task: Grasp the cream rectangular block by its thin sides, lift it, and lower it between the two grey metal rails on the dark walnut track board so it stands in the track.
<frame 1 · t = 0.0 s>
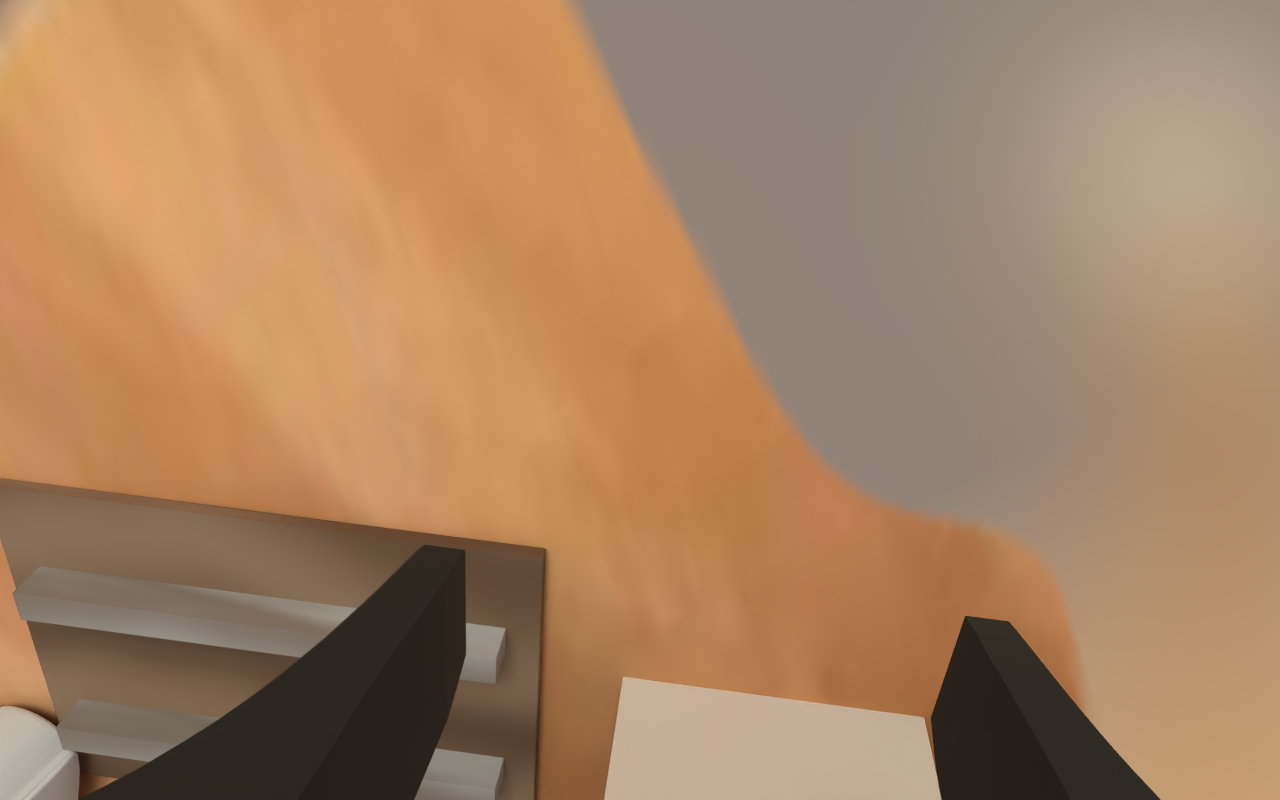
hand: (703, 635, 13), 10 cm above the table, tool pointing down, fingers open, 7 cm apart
track board: (287, 667, 29), on the table
cream rectangular block: (764, 729, 29), on the table
cream rounded upright block: (38, 795, 33), on the table, touching track board
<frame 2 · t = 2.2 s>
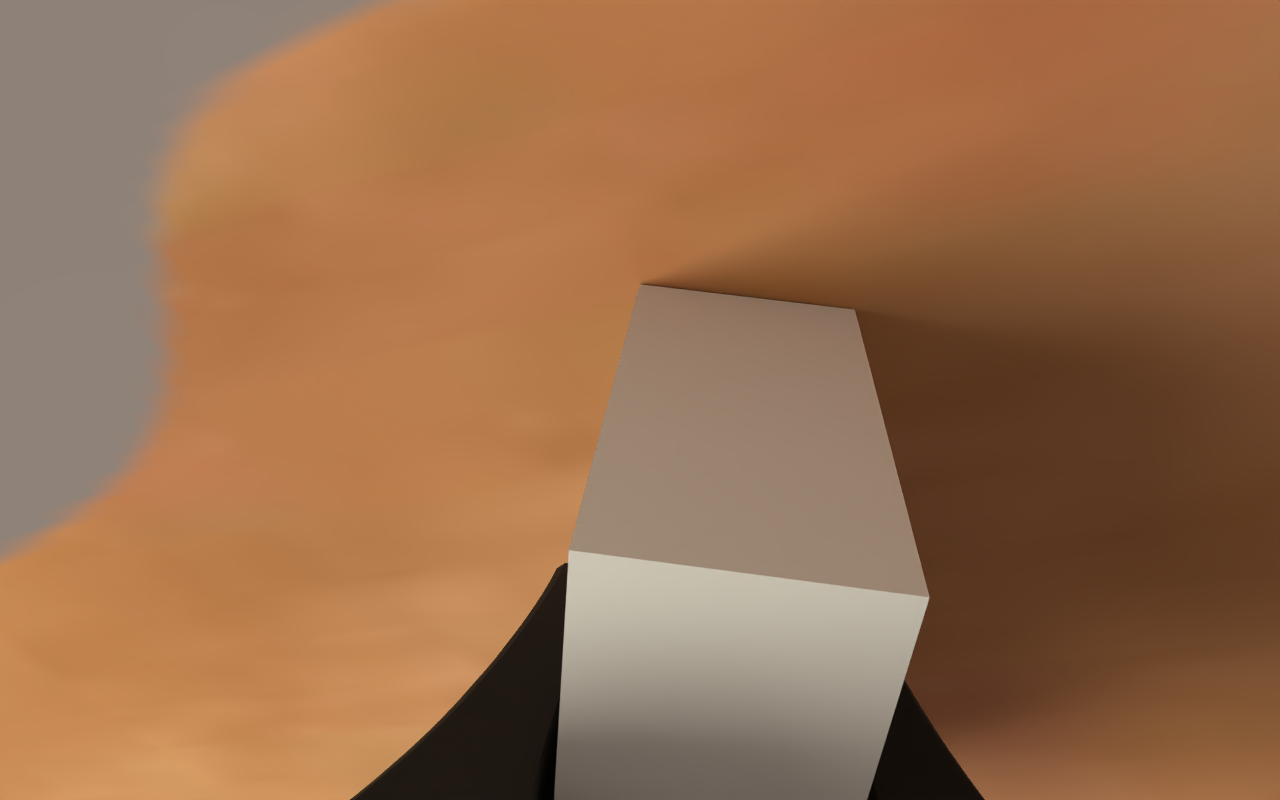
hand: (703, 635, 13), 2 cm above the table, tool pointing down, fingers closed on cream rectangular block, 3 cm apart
cream rectangular block: (707, 552, 15), on the table, touching gripper
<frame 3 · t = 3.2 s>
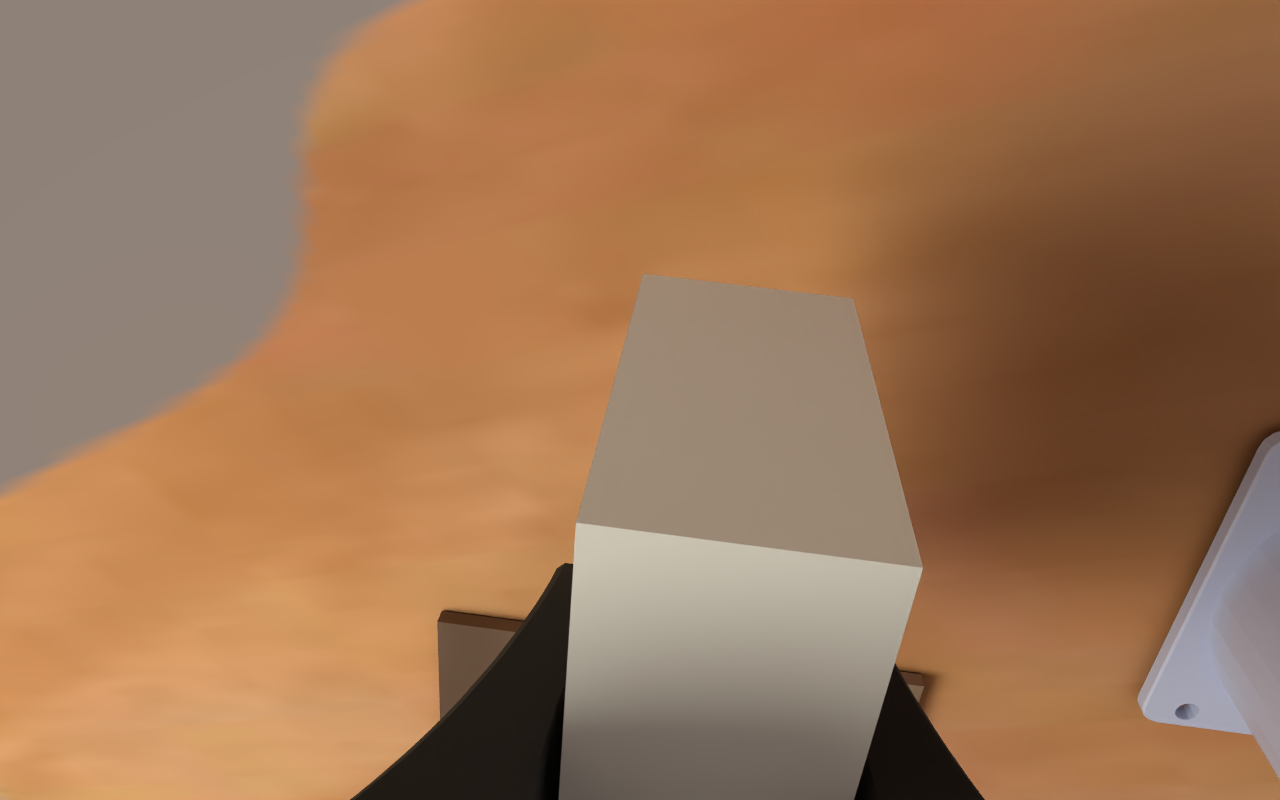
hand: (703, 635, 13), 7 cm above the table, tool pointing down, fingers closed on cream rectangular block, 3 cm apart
cream rectangular block: (709, 537, 15), point 5 cm above the table, touching gripper
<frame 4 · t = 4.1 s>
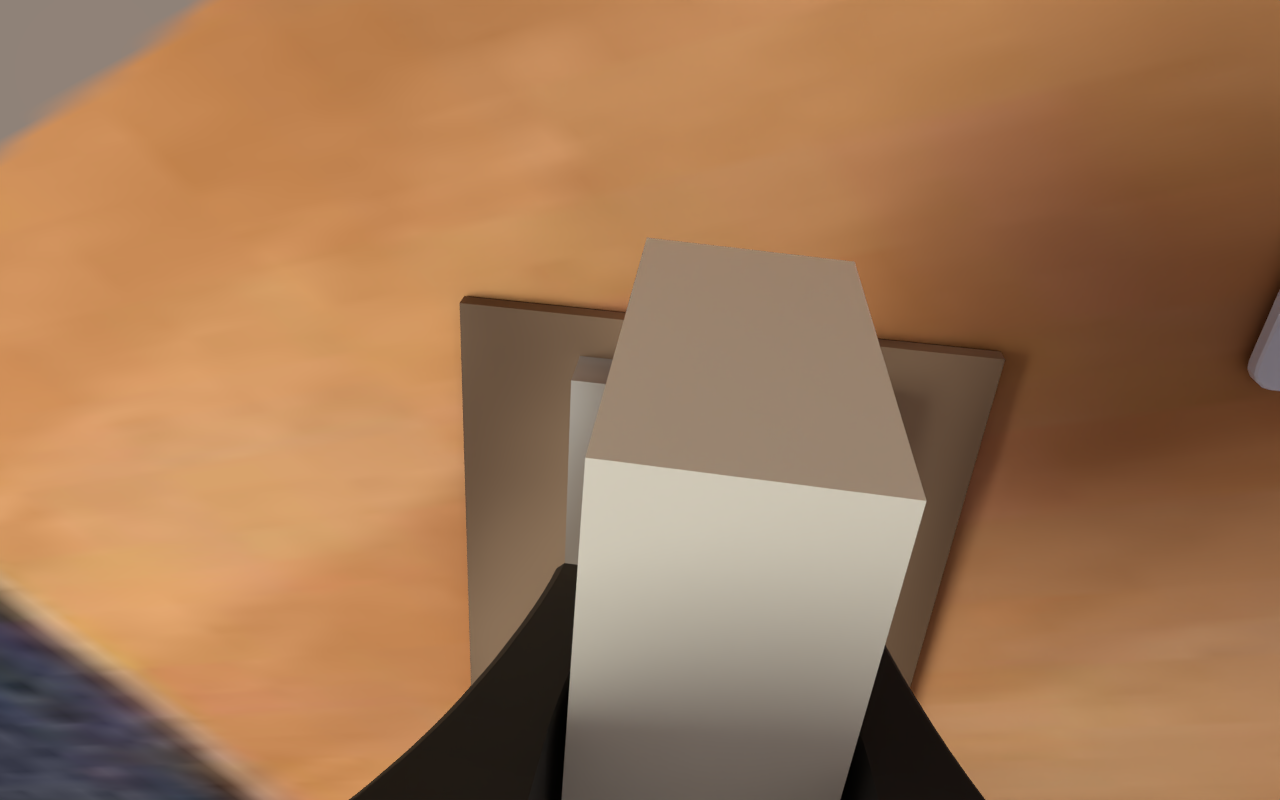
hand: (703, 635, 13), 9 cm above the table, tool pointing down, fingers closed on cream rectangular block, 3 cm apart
track board: (694, 598, 25), on the table
cream rectangular block: (711, 504, 16), point 6 cm above the table, touching gripper
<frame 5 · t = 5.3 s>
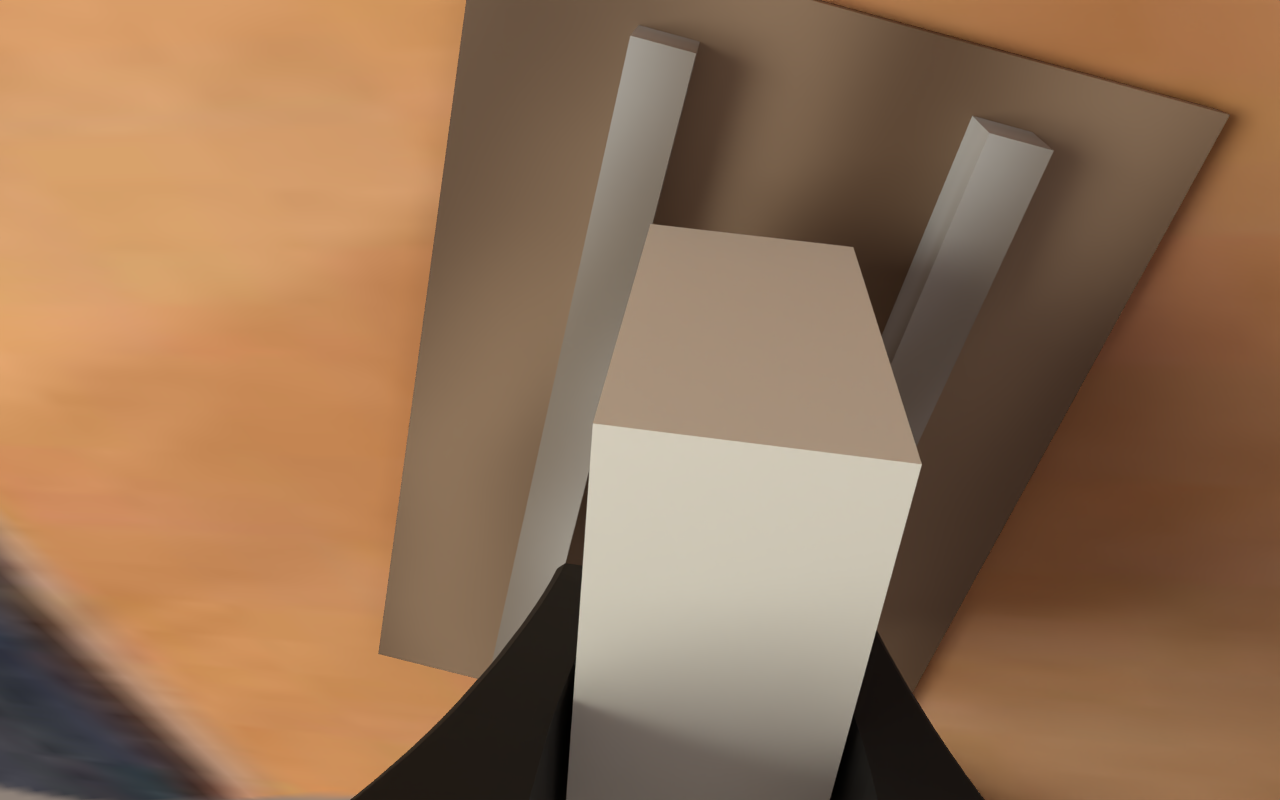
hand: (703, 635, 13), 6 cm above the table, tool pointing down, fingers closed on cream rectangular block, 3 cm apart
track board: (716, 429, 19), on the table
cream rectangular block: (713, 488, 16), point 3 cm above the table, touching gripper
when the fingers open (4 cm above the table, at t = 6.1 s): cream rectangular block stays where it is, resting on track board.
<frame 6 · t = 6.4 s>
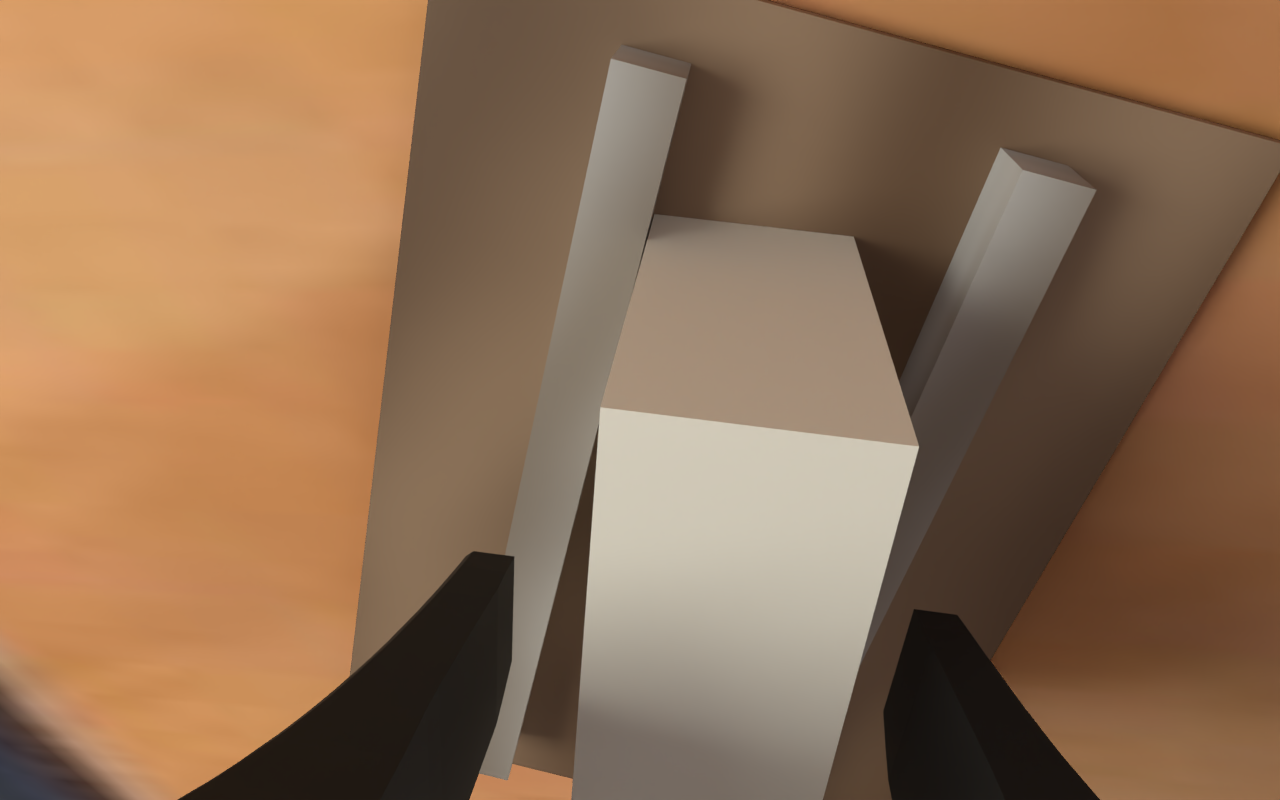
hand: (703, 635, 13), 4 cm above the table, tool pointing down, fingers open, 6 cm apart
track board: (712, 487, 17), on the table
cream rectangular block: (716, 474, 16), resting on track board
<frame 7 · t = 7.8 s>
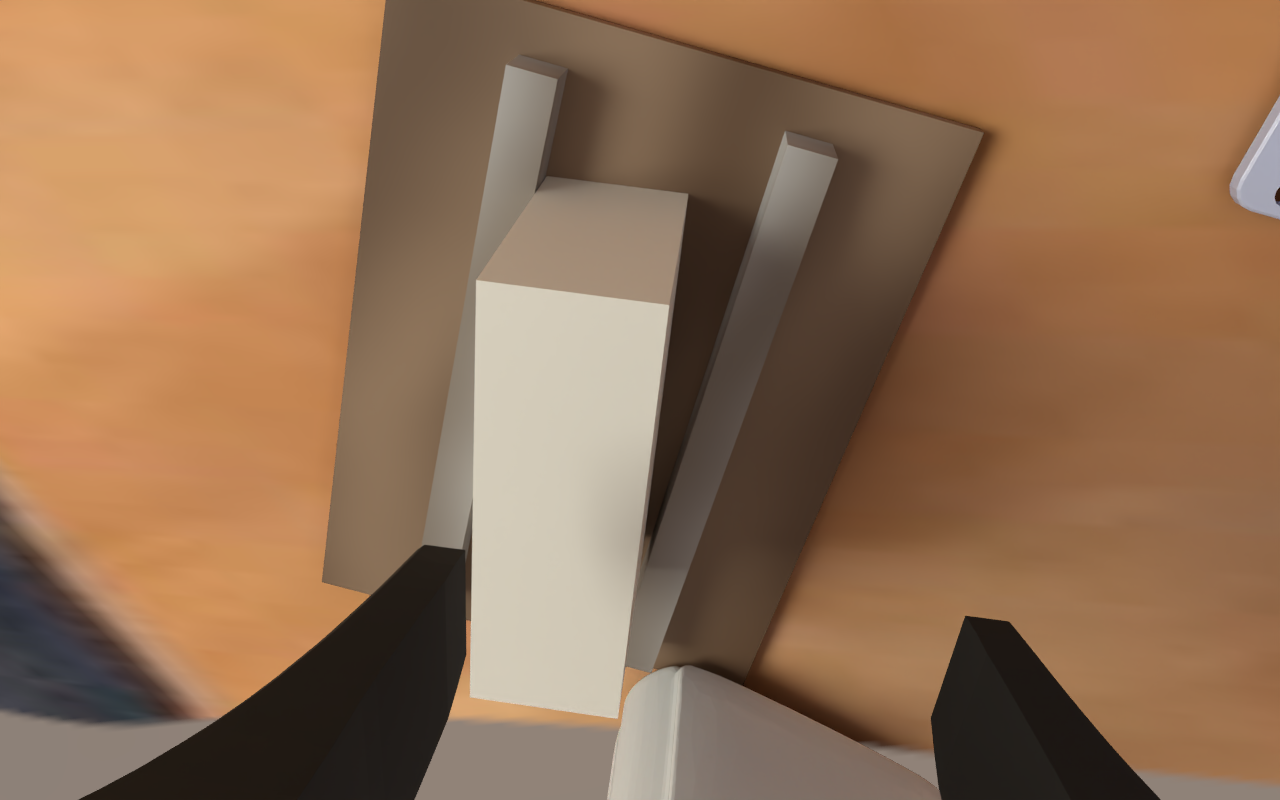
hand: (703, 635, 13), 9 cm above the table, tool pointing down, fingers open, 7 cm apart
track board: (600, 386, 22), on the table
cream rectangular block: (600, 374, 22), resting on track board
cream rounded upright block: (784, 744, 27), on the table, touching track board
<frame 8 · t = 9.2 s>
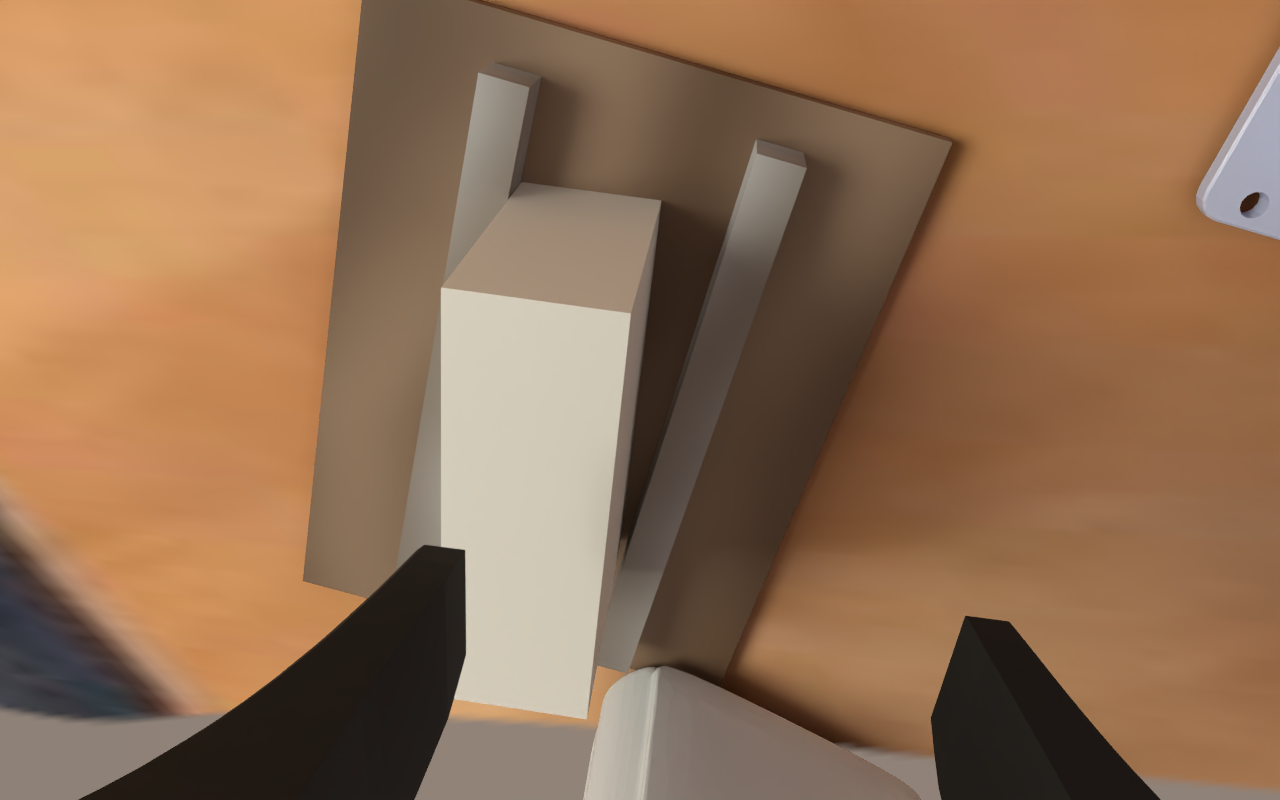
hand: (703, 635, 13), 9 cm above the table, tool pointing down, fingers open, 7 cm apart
track board: (576, 390, 23), on the table
cream rectangular block: (576, 377, 22), resting on track board
cream rounded upright block: (762, 745, 28), on the table, touching track board
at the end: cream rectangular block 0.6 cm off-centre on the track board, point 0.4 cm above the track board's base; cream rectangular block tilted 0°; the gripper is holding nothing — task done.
